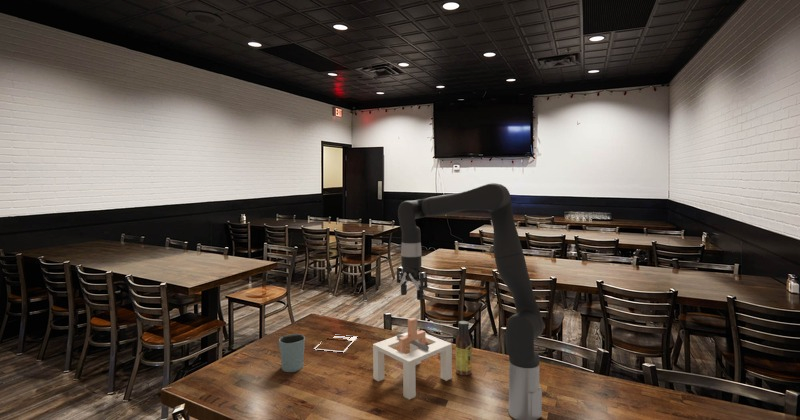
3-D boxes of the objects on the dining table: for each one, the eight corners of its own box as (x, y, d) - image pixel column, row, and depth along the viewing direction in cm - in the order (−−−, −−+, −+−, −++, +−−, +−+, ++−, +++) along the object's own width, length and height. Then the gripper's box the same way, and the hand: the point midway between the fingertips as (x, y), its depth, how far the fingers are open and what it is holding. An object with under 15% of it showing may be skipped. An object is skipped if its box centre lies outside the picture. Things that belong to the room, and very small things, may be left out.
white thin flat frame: (358, 336, 193) (343, 351, 175) (358, 338, 193) (343, 354, 175) (329, 333, 196) (313, 348, 179) (329, 335, 196) (313, 351, 179)
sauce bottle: (471, 377, 153) (471, 326, 151) (455, 375, 154) (454, 325, 153) (471, 369, 159) (472, 320, 158) (456, 367, 160) (456, 319, 159)
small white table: (415, 361, 167) (414, 325, 166) (451, 378, 152) (451, 339, 151) (373, 378, 152) (372, 340, 151) (409, 399, 137) (408, 357, 136)
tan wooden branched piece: (419, 356, 158) (420, 313, 157) (429, 360, 154) (429, 316, 153) (395, 366, 149) (395, 321, 148) (404, 370, 145) (404, 324, 144)
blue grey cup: (275, 371, 159) (274, 342, 158) (287, 360, 169) (287, 332, 168) (298, 374, 157) (297, 344, 156) (310, 362, 166) (309, 334, 166)
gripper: (432, 255, 146) (432, 299, 147) (405, 250, 156) (406, 291, 158) (417, 258, 141) (417, 303, 142) (391, 253, 152) (391, 295, 153)
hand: (411, 297), depth 150 cm, fingers open, 8 cm apart
